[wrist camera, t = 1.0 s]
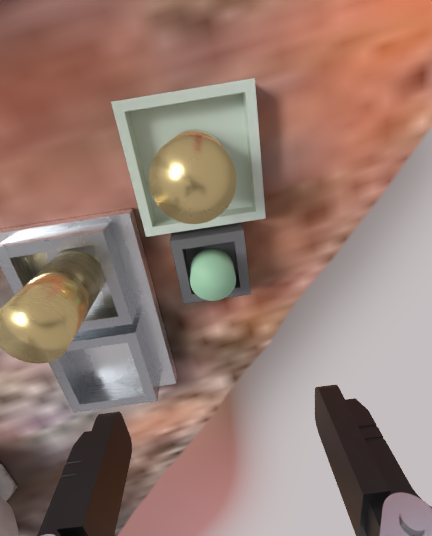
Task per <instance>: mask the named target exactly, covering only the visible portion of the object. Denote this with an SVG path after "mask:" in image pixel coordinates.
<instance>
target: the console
mask: <svg viewBox="0 0 432 536" xmlns="http://www.w3.org/2000/svg"><path fill="white" fill-rule="evenodd" d="M170 245H171V249H172V254H173V258H174V262H175V267H176V271H177V276H178V280H179V284H180V289H181V293H182V298H183V302H184V304H188V303H194V302H201V301H208V300H205V299H202V298H200V297H199V296H197V295H196V294H195V293H194V291H193V290H192V288H191V285H190V274H191V263H192V260H193V258H194V257H195V256H196V255H197V254H198V253H199V252H200V251H202V250H205V249H208V248H216V249H220V250H223V251H224V252H226V253H227V254H228V255H229V256H230V257H231V259H232V262H233V266H234V271H235V275H236V285H235V288H234V290H233V291H232V292H231V293H230V294H229V295H228V296H227V297H225V298H228V297H235V296H242V295H248V294H251V290H250V281H249V272H248V263H247V255H246V246H245V237H244V229H243V227H242V224H241V222H240V223H233V224H227V225H220V226H214V227H207V228H201V229H194V230H188V231H181V232H175V233H172V235H171V239H170Z"/></svg>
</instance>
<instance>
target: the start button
mask: <svg viewBox="0 0 432 536" xmlns="http://www.w3.org/2000/svg"><path fill="white" fill-rule="evenodd" d="M190 285H191V288H192V290H193V291H194V293H195V294H196V295H197V296H199V297H200V298H202V299H205V300H209V301H217V300H221V299H223V298H225V297H227V296H228V295H229V294H230V293H231V292H232V291H233V290H234V288H235V285H236V275H235V271H234V266H233V262H232V259H231V257H230V256H229V255H228V254H227V253H226V252H224V251H223V250H220V249H216V248H208V249H205V250H202V251H200V252H199V253H198V254H197V255H196V256H195V257H194V258H193V260H192V263H191V274H190Z"/></svg>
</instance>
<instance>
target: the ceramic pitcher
mask: <svg viewBox="0 0 432 536" xmlns="http://www.w3.org/2000/svg"><path fill="white" fill-rule="evenodd" d="M17 487H18V486H17V485H16V484H15V482H14V481H13V479H12V478H11V476H10V475H9V473H8V472H7V471H6V469H5V468H4V466H3V465H2V464H0V536H19V531H18V527H17V523H16V519H15V515H14V513H13V510H12V508H11V506H10V505H9V504H8V503H7V502H6V501H7V500H8V499H9V498H10V497H11V496H12V494H13V493H14V491H15V490H16V489H17Z"/></svg>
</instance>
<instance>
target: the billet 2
mask: <svg viewBox="0 0 432 536" xmlns="http://www.w3.org/2000/svg"><path fill="white" fill-rule="evenodd" d="M236 182H237V180H236V171H235V167H234V164H233V162H232V160H231V158H230V156H229V155H228V153H227V152H226V150H225V149H224V148H223V146H222V145H221V144H220V142H219V141H218V140H217V139H216V138H215V137H214V136H213V135H211V134H210V133H208V132H206V131H203V130H199V129H190V130H186V131H183V132H181V133H179V134H178V135H177V136H175V137H174V138H173V139H171V140H170V141H169V142H167V143H166V144H165V145H164V146H162V148H161V149H160V150H159V151H158V152H157V154H156V155H155V157H154V159H153V161H152V164H151V167H150V171H149V185H150V190H151V194H152V196H153V198H154V200H155V202H156V204H157V205H158V206H159V208H160V209H161V210H162V211H163V212H164V213H165V214H166V215H168V216H169V217H171V218H172V219H174V220H176V221H179V222H182V223H187V224H201V223H206V222H208V221H211V220H213V219H215V218H217V217H218V216H219V215H221V214H222V213H223V212H224V211H225V210H226V209H227V208H228V206H229V205H230V203H231V201H232V199H233V197H234V194H235V190H236Z"/></svg>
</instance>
